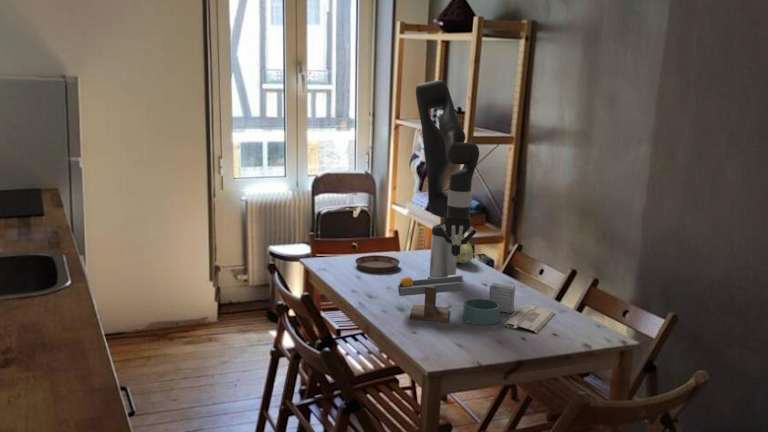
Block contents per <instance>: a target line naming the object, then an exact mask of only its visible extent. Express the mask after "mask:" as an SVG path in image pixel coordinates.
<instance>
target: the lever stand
mask: <svg viewBox="0 0 768 432" xmlns="http://www.w3.org/2000/svg"><path fill="white" fill-rule="evenodd" d="M432 278H437V277H430V276H427V279H432ZM436 304H437V293H435V287H434V286H426V287H425V294H424V305H420V304H412V307H411V310H410V314H409V320H414V321H415V320H417V321H418V320H419V321H427V322H429V321H430V322H443V323H448V322H447V321H448V319H449V312H450V307H448V306H446V307H445V306H437V305H436Z"/></svg>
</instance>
